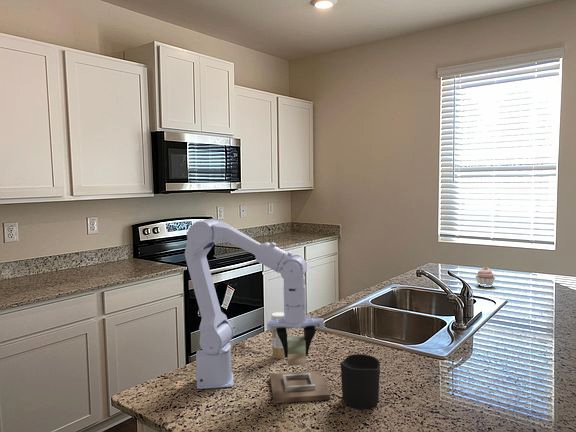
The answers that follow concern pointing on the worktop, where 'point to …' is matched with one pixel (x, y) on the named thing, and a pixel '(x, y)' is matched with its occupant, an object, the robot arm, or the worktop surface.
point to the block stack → (296, 350)
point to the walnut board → (298, 387)
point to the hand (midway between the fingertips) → (296, 355)
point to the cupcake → (485, 276)
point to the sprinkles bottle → (277, 338)
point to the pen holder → (360, 381)
